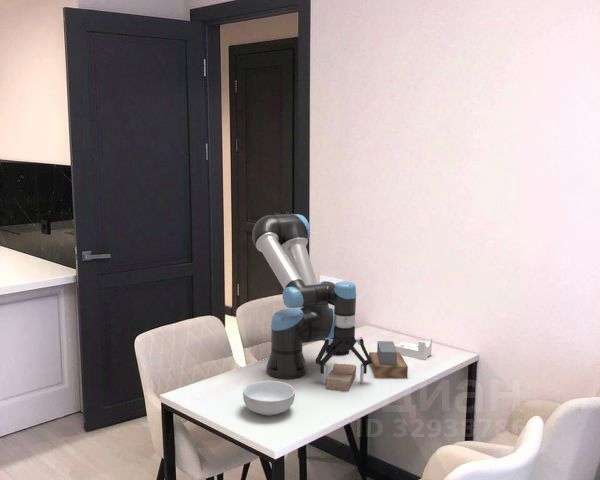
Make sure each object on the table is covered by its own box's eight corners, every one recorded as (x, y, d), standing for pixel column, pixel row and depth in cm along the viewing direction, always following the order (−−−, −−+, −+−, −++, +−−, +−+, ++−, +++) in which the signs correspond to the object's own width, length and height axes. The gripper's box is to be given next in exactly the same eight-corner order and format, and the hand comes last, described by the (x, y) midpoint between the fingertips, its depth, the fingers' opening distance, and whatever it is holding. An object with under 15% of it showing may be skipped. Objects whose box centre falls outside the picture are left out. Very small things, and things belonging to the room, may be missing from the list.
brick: (348, 392, 229) (349, 379, 229) (325, 390, 231) (325, 377, 231) (356, 376, 245) (356, 364, 244) (334, 374, 247) (334, 362, 246)
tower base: (375, 379, 243) (375, 366, 242) (368, 364, 259) (369, 352, 258) (407, 379, 243) (407, 366, 243) (398, 364, 259) (399, 352, 258)
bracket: (431, 356, 269) (432, 338, 268) (423, 360, 263) (424, 342, 262) (402, 349, 276) (403, 332, 275) (394, 354, 271) (395, 336, 270)
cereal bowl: (233, 407, 215) (233, 386, 214) (276, 396, 224) (276, 376, 223) (260, 426, 201) (260, 404, 200) (304, 414, 211) (305, 393, 210)
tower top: (380, 364, 244) (380, 351, 243) (377, 353, 257) (377, 341, 256) (396, 365, 244) (397, 352, 243) (392, 353, 257) (393, 341, 256)
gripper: (310, 328, 230) (309, 386, 233) (381, 328, 232) (379, 385, 235) (308, 322, 237) (308, 378, 241) (377, 322, 239) (375, 378, 242)
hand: (343, 382), depth 238 cm, fingers open, 13 cm apart
